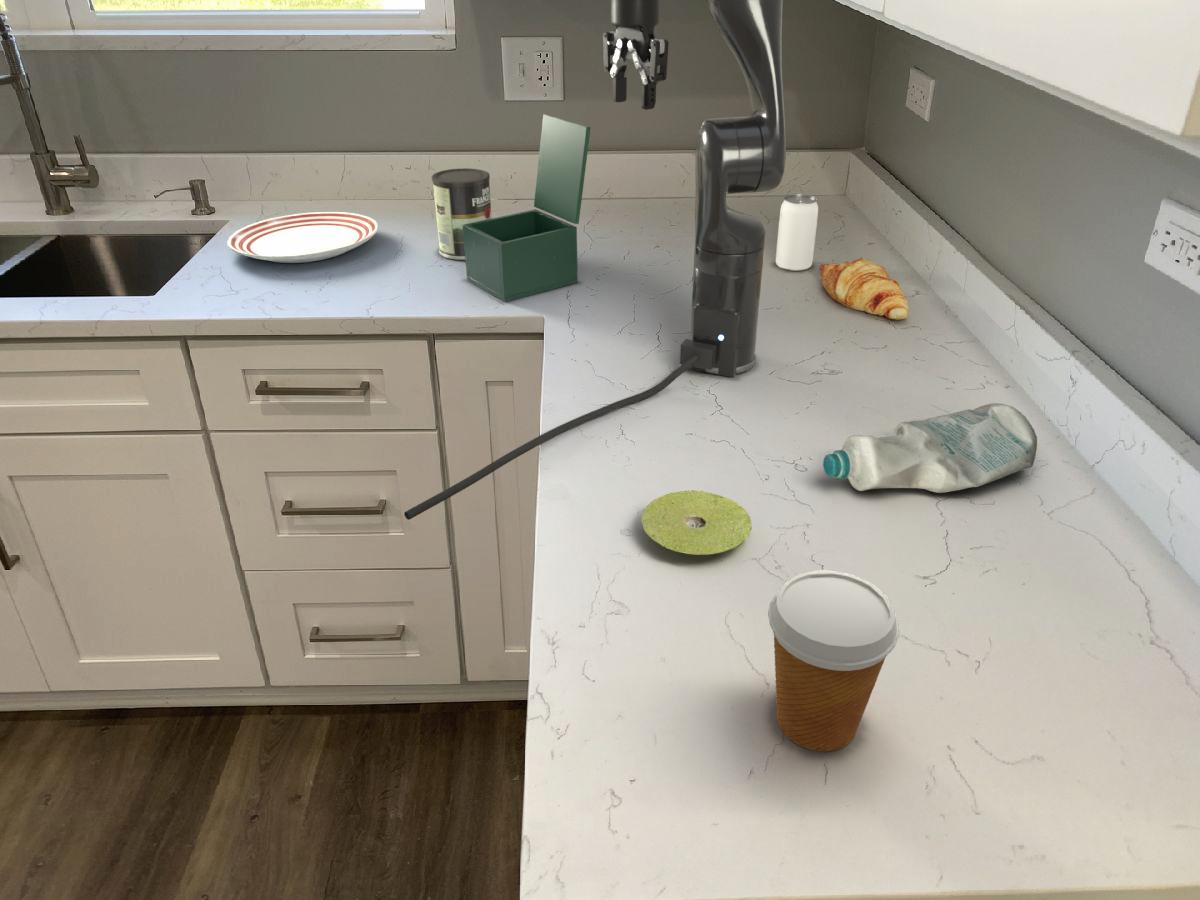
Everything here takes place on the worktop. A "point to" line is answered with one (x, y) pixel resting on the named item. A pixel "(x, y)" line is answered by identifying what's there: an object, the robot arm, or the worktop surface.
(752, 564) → the worktop surface
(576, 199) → the lid
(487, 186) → the coffee can
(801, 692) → the disposable coffee cup
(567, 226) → the caddy
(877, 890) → the worktop surface
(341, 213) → the dinner plate
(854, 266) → the croissant
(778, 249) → the can
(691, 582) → the worktop surface
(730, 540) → the green disc
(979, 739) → the worktop surface
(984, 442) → the crushed plastic bottle
